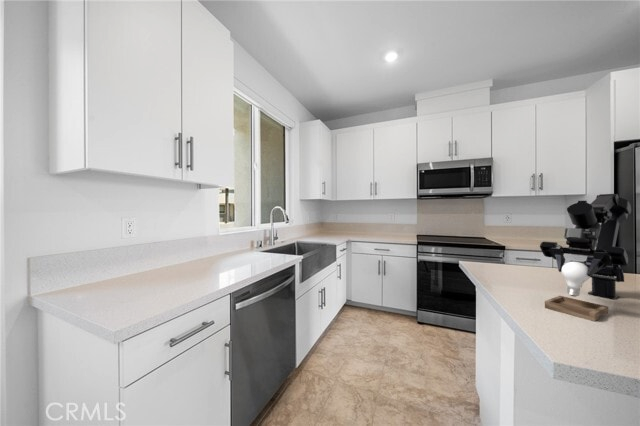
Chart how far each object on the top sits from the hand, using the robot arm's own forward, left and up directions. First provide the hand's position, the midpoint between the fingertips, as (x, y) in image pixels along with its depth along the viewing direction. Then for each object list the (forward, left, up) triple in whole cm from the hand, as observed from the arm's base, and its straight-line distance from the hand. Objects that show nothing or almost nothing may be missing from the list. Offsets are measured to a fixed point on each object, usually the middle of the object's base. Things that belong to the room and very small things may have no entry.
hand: (573, 273), depth 75 cm
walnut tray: (-1, 0, -12) cm, 12 cm away
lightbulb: (-1, -1, -8) cm, 8 cm away
